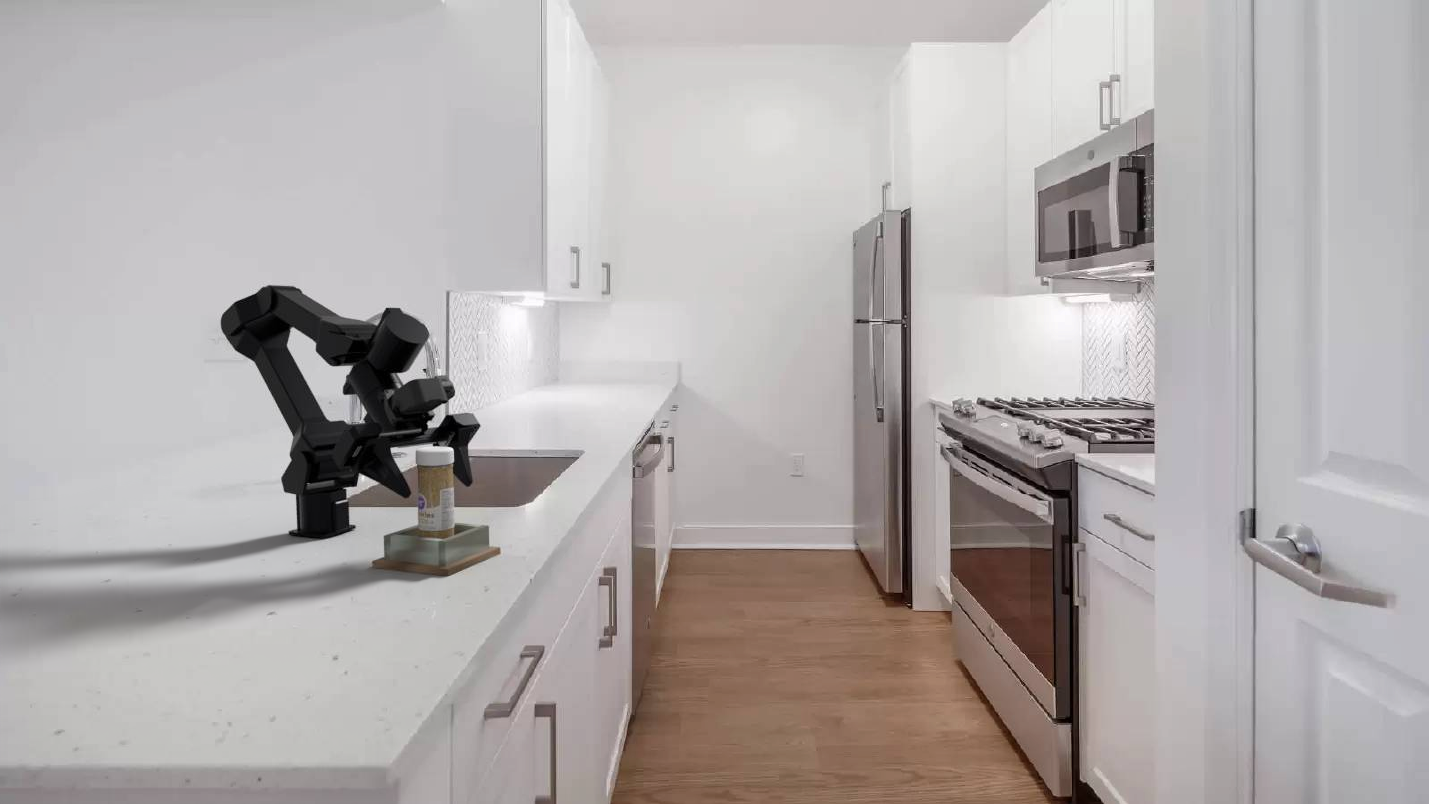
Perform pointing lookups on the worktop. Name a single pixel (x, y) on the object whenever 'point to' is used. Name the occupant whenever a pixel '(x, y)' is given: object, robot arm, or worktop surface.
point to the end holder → (436, 550)
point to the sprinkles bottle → (435, 492)
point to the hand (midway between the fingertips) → (440, 490)
